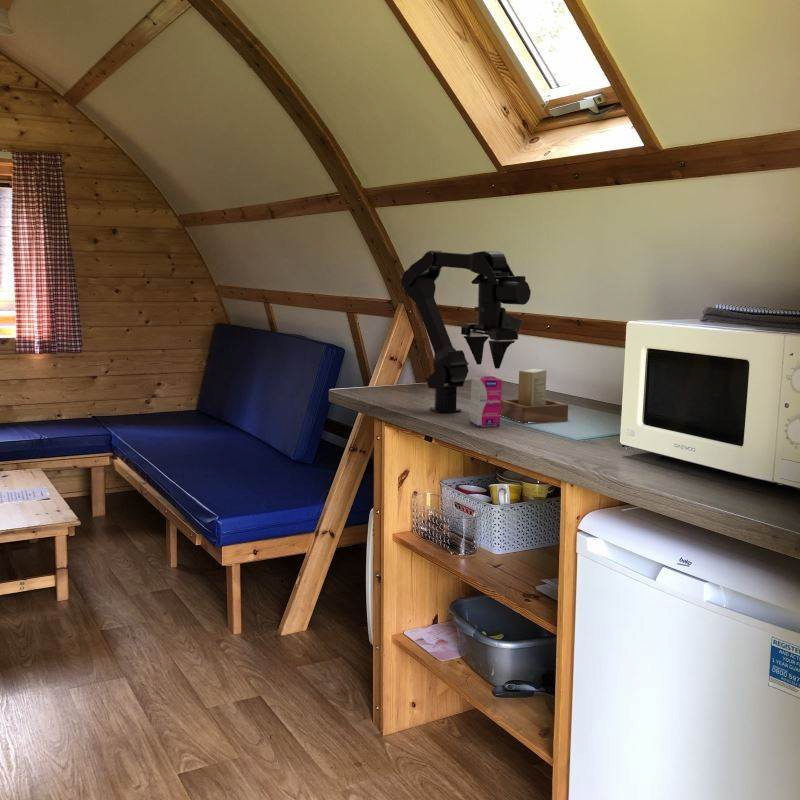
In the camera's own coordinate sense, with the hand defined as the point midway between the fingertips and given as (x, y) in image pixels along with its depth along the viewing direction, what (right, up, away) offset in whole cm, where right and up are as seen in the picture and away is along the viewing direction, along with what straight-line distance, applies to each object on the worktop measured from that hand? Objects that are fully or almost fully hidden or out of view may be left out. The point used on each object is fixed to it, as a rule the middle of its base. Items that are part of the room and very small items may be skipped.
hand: (487, 366), depth 220 cm
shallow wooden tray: (+12, -13, +3) cm, 17 cm away
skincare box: (+11, -13, +3) cm, 17 cm away
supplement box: (-1, -15, -7) cm, 16 cm away
